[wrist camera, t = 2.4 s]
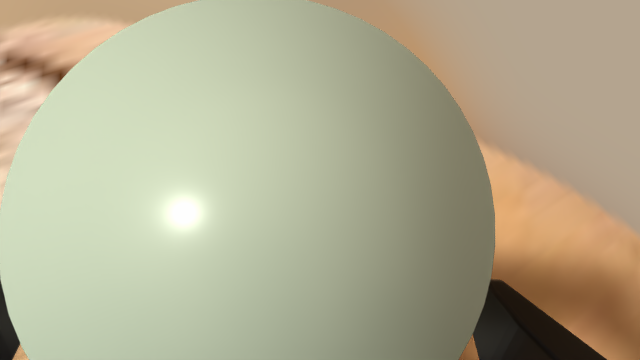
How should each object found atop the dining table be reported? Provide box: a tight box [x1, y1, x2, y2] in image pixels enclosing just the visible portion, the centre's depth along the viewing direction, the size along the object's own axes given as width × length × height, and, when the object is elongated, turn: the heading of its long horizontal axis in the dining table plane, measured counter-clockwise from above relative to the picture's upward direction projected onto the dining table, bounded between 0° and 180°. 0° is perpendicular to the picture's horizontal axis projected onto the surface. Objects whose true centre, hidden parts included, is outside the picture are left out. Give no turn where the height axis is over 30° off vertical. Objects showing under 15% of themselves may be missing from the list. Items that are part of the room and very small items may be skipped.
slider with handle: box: [0, 0, 495, 360], centre depth 9 cm, size 5×5×14 cm
